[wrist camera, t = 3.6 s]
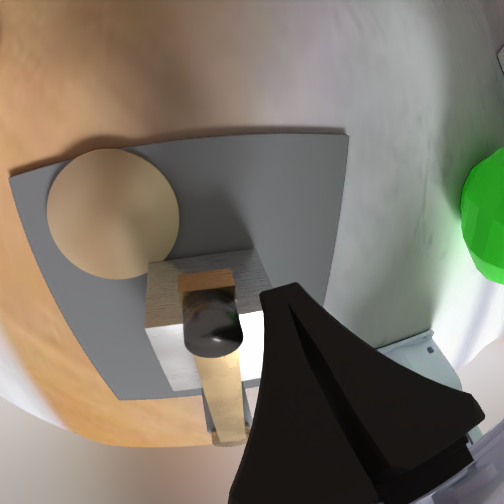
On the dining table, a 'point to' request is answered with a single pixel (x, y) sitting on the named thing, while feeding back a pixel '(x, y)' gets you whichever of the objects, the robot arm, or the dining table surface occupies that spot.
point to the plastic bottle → (485, 216)
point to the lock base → (199, 239)
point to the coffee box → (501, 58)
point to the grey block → (171, 319)
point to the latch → (216, 349)
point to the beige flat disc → (113, 213)
